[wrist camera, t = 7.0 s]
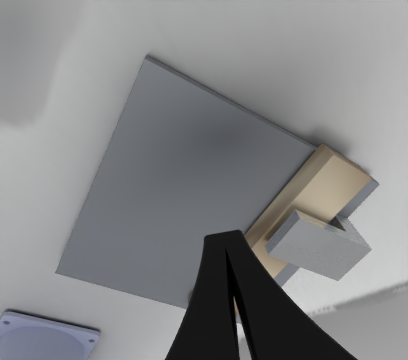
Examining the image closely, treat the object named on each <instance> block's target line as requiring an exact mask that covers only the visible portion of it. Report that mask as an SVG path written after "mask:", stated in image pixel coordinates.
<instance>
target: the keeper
mask: <svg viewBox="0 0 408 360" xmlns="http://www.w3.org/2000/svg"><path fill="white" fill-rule="evenodd" d="M265 247H266V250H267V253H268V255H269V256H272V257H275V258H277V259H280V260H283V261H286V262H288V263H291V264H294V265H296V266H299V267H302V268H304V269H307V270H310V271H313V272H315V273H318V274H321V275H323V276H326V277H329V278H331V279H334V280H337V281H339V280H340V279H341V278H342V277H343V276H344V275H345V274H346V273H347V272H348V271H349V270H350V269H351V268H352V267H354V266H355V265H356V264H357V263H358V262H359V261H360V260H361V259H362V258H363V257H364V256H365V255H366V254H368V253H369V252H370V251H371V250H372V249H371V248H370V246H369V245H368V244H367V243H366V241H365V240H364V239H363V237H362V236H361V235H360V233H359V232H358V231H357V230H356V228H355V227H354V226H353V224H352V223H351V222H350V221H349V219H348V218H347V217H344V216H342V215H340V214H338V213H337V214H336V215H335V216H334V217H333V218H332V219H331V220H330V221H329V222H328V223H325V222H323V221H320V220H318V219H316V218H313V217H311V216H309V215H307V214H304V213H302V212H300V211H298V210H294V211H293V212H292V213H291V215H290V216H289V217H288V218H287V219H286V221H285V222H284V223H283V224H282V225H281V227H280V228H279V229H278V230H277V231H276V233H275V234H274V235H273V236H272V237H271V239H270V240H269V241H268V242H267V243H266V244H265Z"/></svg>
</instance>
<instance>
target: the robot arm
mask: <svg viewBox="0 0 408 360" xmlns="http://www.w3.org/2000/svg"><path fill="white" fill-rule="evenodd" d="M234 299H235V302H236V306H237V309H238V313H239V316H240V320H241V323H242V327H243V330H244V334H245V337H246V341H247V344H248V348H249V351H250V354H251V358H252V360H358V359H356V358H355V357H354V356H353V355H351V354H350V353H349V352H348V351H346V350H345V349H344V348H343V347H342V346H341V345H339V344H338V343H337V342H336V341H335V340H334V339H333V338H331V337H330V336H329V335H328V334H327V333H326V332H324V331H323V330H322V329H321V328H320V327H319V326H318V325H317V324H315V322H314V321H313V320H311V319H310V318H309V317H308V316H307V315H306V314H305V313H304V312H303V311H302V310H301V309H300V308H299V307H298V306H297V305H296V304H295V303H294V302H293V300H292V299H291V298H290V297H289V296H288V295H287V294H286V293H285V292H284V291H283V289H282V288H281V287H280V286H279V285H278V284H277V282H276V281H275V280H274V279H273V278H272V276H271V275H270V274H269V273H268V271H267V270H266V269H265V267H264V266H263V265H262V263H261V262H260V261H259V259H258V258H257V256H256V255H255V253H254V252H253V250H252V249H251V247H250V246H249V244H248V242H247V241H246V239H245V237H244V235H243V233H242V231H241V230H239V229H238V230H232V231H226V232H221V233H215V234H210V235H206V236H205V237H204V244H203V252H202V258H201V263H200V267H199V271H198V275H197V279H196V283H195V286H194V289H193V292H192V295H191V298H190V302H189V305H188V307H187V310H186V313H185V316H184V318H183V321H182V323H181V325H180V328H179V330H178V333H177V335H176V337H175V339H174V341H173V344H172V346H171V348H170V350H169V352H168V354H167V356H166V358H165V360H240V357H239V346H238V335H237V325H236V314H235V304H234ZM99 337H100V333H99V332H98V331H95V330H90V329H86V328H81V327H77V326H73V325H68V324H64V323H59V322H55V321H50V320H46V319H42V318H37V317H33V316H28V315H24V314H19V313H15V312H10V311H8V312H4V313H3V315H2V317H1V319H0V360H86V359H87V358H88V356H89V354H90V353H91V351H92V349H93V348H94V346H95V345H96V343H97V341H98V340H99Z"/></svg>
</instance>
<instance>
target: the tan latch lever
mask: <svg viewBox="0 0 408 360" xmlns="http://www.w3.org/2000/svg"><path fill="white" fill-rule="evenodd" d="M371 179H372V177H370V176H369V175H368V174H367V173H366V172H365V171H364V170H363V169H362V168H361V167H360V166H359V165H357V164H355V163H354V162H352V161H350V160H349V159H347V158H346V157H344V156H342V155H341V154H339V153H337V152H336V151H334V150H332V149H331V148H329V147H327V146H326V145H324V144H323V143H322V144H321V145H320V146H319V147H318V148H317V149H316V151H315V152H314V153H313V154H312V155H311V157H310V158H309V159H308V160H307V161H306V163H305V164H304V165H303V166H302V167H301V169H300V170H299V171H298V172H297V173H296V175H295V176H294V177H293V178H292V179H291V181H290V182H289V183H288V184H287V185H286V186H285V188H284V189H283V190H282V191H281V192H280V194H279V195H278V196H277V197H276V198H275V200H274V201H273V202H272V203H271V204H270V206H269V207H268V208H267V209H266V210H265V212H264V213H263V214H262V215H261V216H260V217H259V219H258V220H257V221H256V222H255V223H254V225H253V226H252V227H251V228H250V229H249V231H248V232H247V233H246V234H245V235H244V237H245V239H246V241H247V242H248V244H249V246H250V247H251V249H252V250H253V252H254V253H255V255H256V256H257V258H258V259H259V261H260V262H261V263H262V265H263V266H264V267H265V269H266V270H267V271H268V273H269V274H270V275H271V276H272V278H274V277H275V276H276V275H277V274H278V273H279V272H280V271H281V270H282V269H283V268H284V267H285V266H286V265H287V264H288V262H286V261H283V260H280V259H277V258H275V257H272V256H269V255H268V253H267V250H266V247H265V244H266V243H267V242H268V241H269V240H270V239H271V237H272V236H273V235H274V234H275V233H276V231H277V230H278V229H279V228H280V227H281V225H282V224H283V223H284V222H285V221H286V219H287V218H288V217H289V216H290V215H291V213H292V212H293V211H294V210H298V211H300V212H302V213H304V214H307V215H309V216H311V217H313V218H316V219H318V220H320V221H323V222H325V223H328V222H329V221H330V220H331V219H332V218H333V217H334V216H335V215H336V214H337V213H338V212H339V211H340V210H341V209H342V208H343V207H344V206H345V205H346V204H347V203H348V202H349V201H350V200H351V199H352V198H353V197H354V196H355V195H356V194H357V193H358V192H359V191H360V190H361V189H362V188H363V187H364V186H365V185H366V184H367V183H368V182H369V181H370V180H371ZM191 295H192V293H191ZM191 295H190V297H189V300H188V305H189V302H190V298H191ZM234 304H235V314H236V319H237V315H238V314H239V313H238V309H237V306H236V302H235V299H234Z"/></svg>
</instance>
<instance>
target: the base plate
mask: <svg viewBox="0 0 408 360" xmlns="http://www.w3.org/2000/svg"><path fill="white" fill-rule="evenodd" d="M317 148H318V147H316V146H314V145H312V144H310V143H308V142H306V141H305V140H303V139H301V138H299V137H297V136H295V135H293V134H292V133H290V132H288V131H286V130H284V129H282V128H281V127H279V126H277V125H275V124H273V123H271V122H269V121H268V120H266V119H264V118H262V117H260V116H258V115H256V114H255V113H253V112H251V111H249V110H247V109H245V108H243V107H242V106H240V105H238V104H236V103H234V102H232V101H230V100H229V99H227V98H225V97H223V96H221V95H219V94H218V93H216V92H214V91H212V90H210V89H208V88H206V87H205V86H203V85H201V84H199V83H197V82H195V81H193V80H192V79H190V78H188V77H186V76H184V75H182V74H180V73H179V72H177V71H175V70H173V69H171V68H169V67H167V66H166V65H164V64H162V63H160V62H158V61H156V60H155V59H153V58H151V57H149V56H146V57H145V59H144V62H143V64H142V66H141V69H140V71H139V74H138V76H137V78H136V81H135V83H134V86H133V88H132V90H131V93H130V95H129V98H128V100H127V102H126V105H125V107H124V109H123V112H122V114H121V117H120V119H119V121H118V124H117V126H116V129H115V131H114V133H113V136H112V138H111V141H110V143H109V145H108V148H107V150H106V153H105V155H104V157H103V160H102V162H101V164H100V167H99V169H98V172H97V174H96V176H95V179H94V181H93V184H92V186H91V188H90V191H89V193H88V196H87V198H86V200H85V203H84V205H83V208H82V210H81V212H80V215H79V217H78V220H77V222H76V224H75V227H74V229H73V231H72V234H71V236H70V239H69V241H68V243H67V246H66V248H65V251H64V253H63V255H62V258H61V260H60V263H59V265H58V267H57V270H56V272H55V273H57V274H60V275H64V276H68V277H71V278H75V279H79V280H82V281H86V282H90V283H93V284H97V285H101V286H104V287H108V288H112V289H115V290H119V291H122V292H126V293H130V294H133V295H137V296H141V297H144V298H148V299H152V300H155V301H159V302H163V303H166V304H170V305H174V306H177V307H181V308H184V309H187V307H188V300H189V297H190V295H191V293H192V292H193V289H194V286H195V283H196V279H197V275H198V271H199V267H200V263H201V258H202V252H203V244H204V237H205V236H206V235H210V234H215V233H221V232H226V231H232V230H238V229H239V230H241V231H242V233H243V235H245V234H246V233H247V232H248V231H249V229H250V228H251V227H252V226H253V225H254V223H255V222H256V221H257V220H258V219H259V217H260V216H261V215H262V214H263V213H264V212H265V210H266V209H267V208H268V207H269V206H270V204H271V203H272V202H273V201H274V200H275V198H276V197H277V196H278V195H279V194H280V192H281V191H282V190H283V189H284V188H285V186H286V185H287V184H288V183H289V182H290V181H291V179H292V178H293V177H294V176H295V175H296V173H297V172H298V171H299V170H300V169H301V167H302V166H303V165H304V164H305V163H306V161H307V160H308V159H309V158H310V157H311V155H312V154H313V153H314V152H315V151H316V149H317ZM370 177H371V176H370ZM378 185H379V183H378V182H377V181H376V180H374V179H373V178H372V179H371V180H370V181H369V182H368V183H367V184H366V185H365V186H364V187H363V188H362V189H361V190H360V191H359V192H358V193H357V194H356V195H355V196H354V197H353V198H352V199H351V200H350V201H349V202H348V203H347V204H346V205H345V206H344V207H343V208H342V209H341V210H340V211H339V212H338V214H340V215H342V216H344V217H347V218H348V217H349V216H350V215H351V214H352V213H353V212H354V210H355V209H356V208H357V207H358V206H359V205H360V204H361V203H362V202H363V201H364V200H365V199H366V198H367V197H368V196H369V195H370V194H371V193H372V192H373V191H374V190H375V189H376V187H377V186H378ZM299 268H300V267H299V266H296V265H294V264H291V263H288V264H287V265H286V266H285V267H284V268H283V269H282V270H281V271H280V272H279V273H278V274H277V275H276V276H275V277H274V278H273V279H274V280H275V281H276V282H277V284H278V285H279V286H280V287H282V286H283V285H284V284H285V283H286V282H287V280H288V279H289V278H290V277H291V276H292V275H293V274H294V273H295V272H296V271H297V270H298V269H299ZM236 323H239V324H242V323H241V320H240V316H239V314H238V315H237V319H236Z"/></svg>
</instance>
